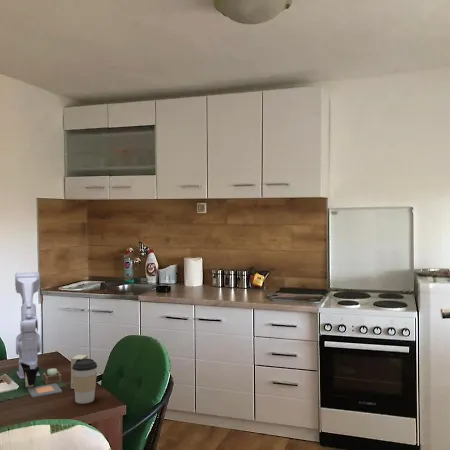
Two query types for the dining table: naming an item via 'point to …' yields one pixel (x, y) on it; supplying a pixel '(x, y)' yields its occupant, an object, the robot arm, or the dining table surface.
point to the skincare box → (72, 366)
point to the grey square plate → (44, 390)
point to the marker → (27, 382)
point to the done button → (51, 372)
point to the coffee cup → (84, 380)
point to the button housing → (52, 378)
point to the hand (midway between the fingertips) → (29, 381)
